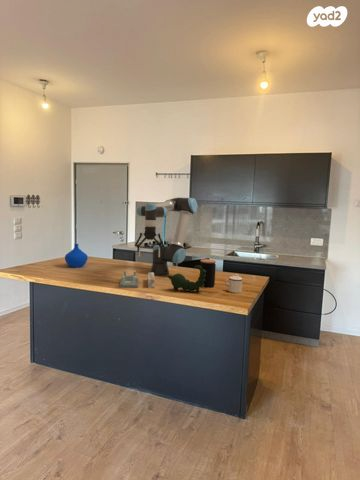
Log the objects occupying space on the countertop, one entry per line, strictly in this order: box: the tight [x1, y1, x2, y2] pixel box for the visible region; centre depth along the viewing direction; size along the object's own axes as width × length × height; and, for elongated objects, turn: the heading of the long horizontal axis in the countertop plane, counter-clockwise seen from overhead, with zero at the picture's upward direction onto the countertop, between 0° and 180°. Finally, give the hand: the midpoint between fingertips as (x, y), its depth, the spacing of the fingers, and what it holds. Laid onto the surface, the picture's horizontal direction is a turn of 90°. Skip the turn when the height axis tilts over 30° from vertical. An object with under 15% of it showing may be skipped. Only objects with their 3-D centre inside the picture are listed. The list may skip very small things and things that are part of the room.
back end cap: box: [123, 270, 137, 279], centre depth 238 cm, size 8×3×6 cm, turn 97°
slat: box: [147, 271, 156, 289], centre depth 231 cm, size 4×22×6 cm, turn 6°
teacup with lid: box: [223, 273, 244, 294], centre depth 221 cm, size 12×9×12 cm
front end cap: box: [122, 275, 137, 285], centre depth 220 cm, size 8×3×6 cm, turn 97°
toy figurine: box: [166, 265, 206, 293], centre depth 215 cm, size 9×19×25 cm
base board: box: [119, 277, 139, 289], centre depth 229 cm, size 12×22×2 cm, turn 7°
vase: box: [64, 243, 89, 268], centre depth 279 cm, size 18×18×19 cm
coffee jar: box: [199, 258, 217, 288], centre depth 231 cm, size 11×11×18 cm
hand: (149, 256), depth 230 cm, fingers open, 13 cm apart
